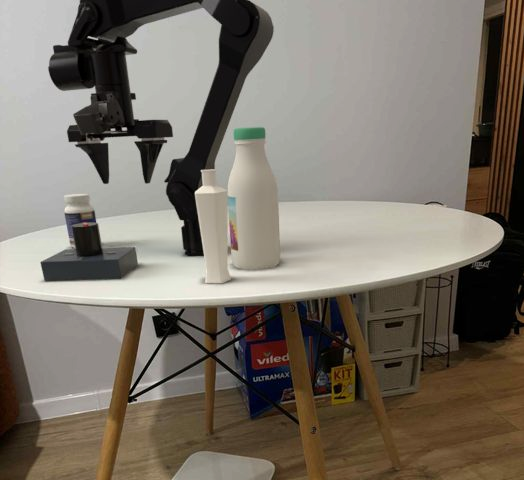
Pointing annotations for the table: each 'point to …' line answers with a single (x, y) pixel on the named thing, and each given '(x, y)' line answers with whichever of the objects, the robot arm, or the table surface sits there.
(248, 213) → the milk bottle
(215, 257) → the perfume bottle
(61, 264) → the block
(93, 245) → the clamp knob
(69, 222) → the pill bottle
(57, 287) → the table surface
